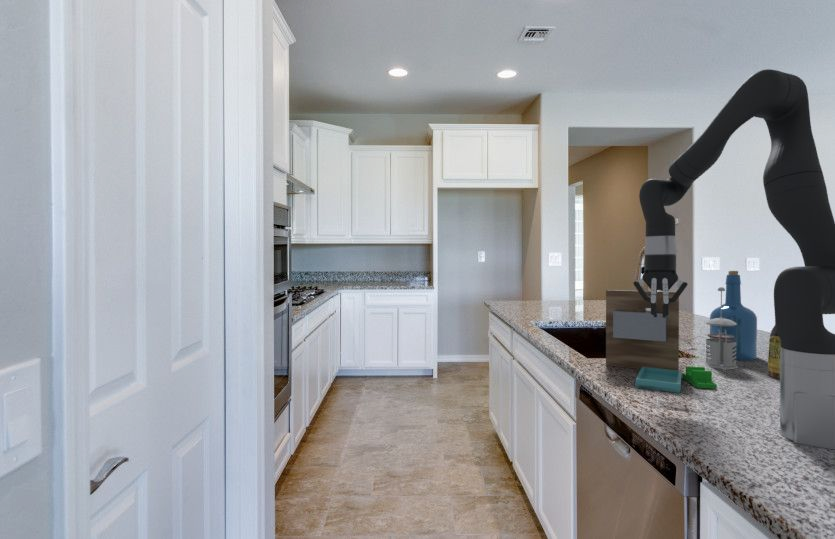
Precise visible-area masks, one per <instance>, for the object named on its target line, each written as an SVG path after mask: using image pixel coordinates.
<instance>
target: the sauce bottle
mask: <svg viewBox="0 0 835 539" xmlns="http://www.w3.org/2000/svg"><path fill="white" fill-rule="evenodd" d="M780 347H781V346H780V338H779V336H778V333H777V331H776V326H775V325H774V326H773V327H772V329H771V331H770V334H769V340H768V358H767V360H768V361H767V371H768V373H767V375H768V376H769V377H770V378H774V379H779V380H780Z"/></svg>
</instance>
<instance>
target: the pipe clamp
mask: <svg viewBox="0 0 835 539" xmlns="http://www.w3.org/2000/svg"><path fill="white" fill-rule="evenodd" d="M712 374H713V373H712V370H706V367H705V366H686V365H685V372H682V379H684V380H686V381H687V382H688V383H689V384H691V385H693V386H694V387H696V388H697V389H716V390H717V389H718V388H717V386H718V385H717V384H716V383H715V382H713V380H712V379H713V375H712Z"/></svg>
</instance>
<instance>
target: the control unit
mask: <svg viewBox="0 0 835 539" xmlns="http://www.w3.org/2000/svg"><path fill="white" fill-rule="evenodd" d="M613 337H614V338H627V339H639V340H652V341H664V342H666V340H667V316H666V318H663V317H662V312H658V311H657V317H654V315H652V314H651V308H645V311H637V310H614V311H613Z"/></svg>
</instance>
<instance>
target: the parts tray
mask: <svg viewBox="0 0 835 539" xmlns="http://www.w3.org/2000/svg"><path fill="white" fill-rule="evenodd" d="M682 373H683V371H682V370H679V371H676V370H667V369H658V368H649V367H642V368H641V369H640V370H639V371H638V373H637V376H636V378H635V388H640V389H648V390H654V391H661V392H670V393H676V394H677V393H678V394H681V389H682V380H683V377H682Z"/></svg>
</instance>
